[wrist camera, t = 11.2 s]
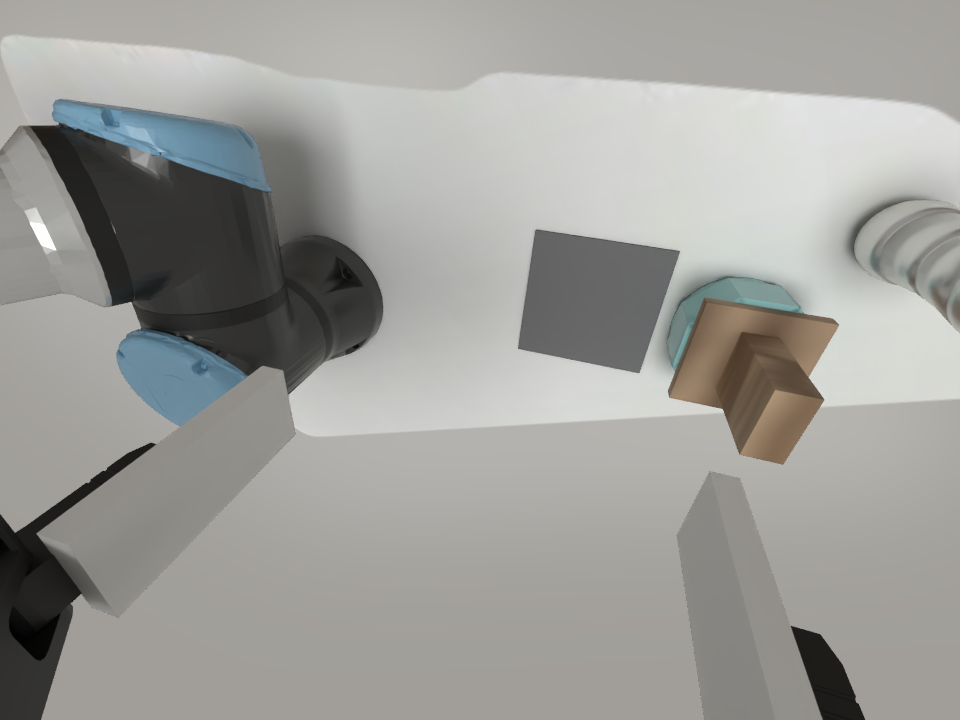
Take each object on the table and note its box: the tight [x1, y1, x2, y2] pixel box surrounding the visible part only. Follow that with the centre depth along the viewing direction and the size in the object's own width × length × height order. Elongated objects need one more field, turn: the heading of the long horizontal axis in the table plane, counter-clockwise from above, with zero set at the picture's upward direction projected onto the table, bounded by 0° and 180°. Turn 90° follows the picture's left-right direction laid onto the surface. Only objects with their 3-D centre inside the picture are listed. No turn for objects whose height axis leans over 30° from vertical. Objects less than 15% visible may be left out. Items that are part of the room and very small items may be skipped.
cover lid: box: [668, 297, 839, 464], centre depth 34 cm, size 10×10×10 cm
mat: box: [518, 230, 680, 373], centre depth 46 cm, size 14×14×1 cm
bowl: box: [667, 277, 804, 371], centre depth 41 cm, size 11×11×6 cm
